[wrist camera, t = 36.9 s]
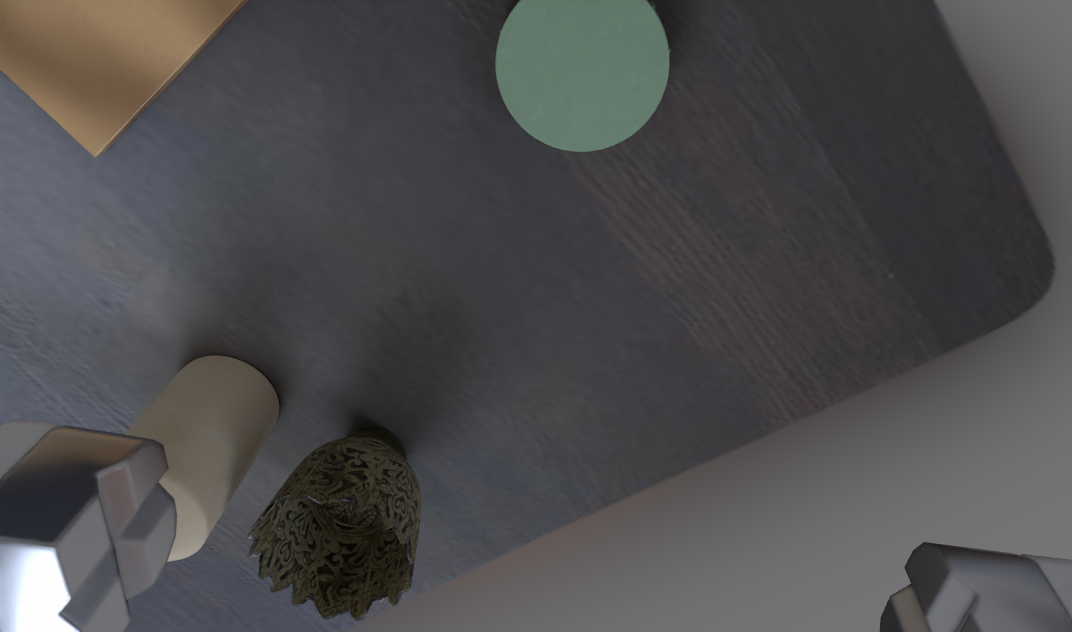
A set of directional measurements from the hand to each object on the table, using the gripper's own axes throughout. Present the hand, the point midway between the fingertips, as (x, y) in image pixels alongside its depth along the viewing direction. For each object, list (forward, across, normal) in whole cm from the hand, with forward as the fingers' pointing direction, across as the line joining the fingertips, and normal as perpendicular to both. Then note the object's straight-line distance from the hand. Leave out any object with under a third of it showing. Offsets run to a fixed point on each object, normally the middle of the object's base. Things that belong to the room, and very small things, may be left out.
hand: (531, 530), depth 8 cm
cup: (+25, +8, +21) cm, 34 cm away
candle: (+25, +16, +19) cm, 36 cm away
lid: (+24, 0, 0) cm, 24 cm away
